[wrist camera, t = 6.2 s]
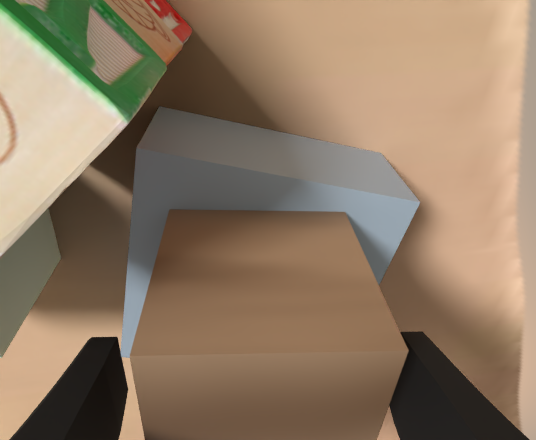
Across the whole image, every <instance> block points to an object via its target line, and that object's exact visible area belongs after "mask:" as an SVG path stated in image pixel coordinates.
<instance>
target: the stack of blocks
mask: <svg viewBox="0 0 536 440" xmlns="http://www.w3.org/2000/svg"><path fill="white" fill-rule="evenodd" d="M191 34H192V28H191V27H190V26H189V25H188V24H187V23H186V22H185V20H184V19H183V18H182V17H181V16H180V15H179V14H178V13H177V12H176V11H175V10H174V9H173V8H172V7H171V5H170V4H169V3H168V2H167V1H166V0H0V259H1V258H2V256H3V255H4V254H5V253H6V252H7V251H8V249H9V248H10V247H11V246H12V245H13V244H14V243H15V242H16V241H17V240H18V239H19V238H20V237H21V236H22V234H23V233H24V232H25V231H26V230H27V229H28V228H29V227H30V226H31V225H32V224H33V223H34V222H35V221H36V220H37V219H38V218H39V217H40V216H41V215H42V214H43V213H44V212H45V211H46V210H47V208H48V207H49V206H50V205H51V204H52V203H53V202H54V201H55V200H56V199H57V198H58V197H59V196H60V195H61V194H62V193H63V192H64V191H65V190H66V189H67V188H68V187H69V186H70V185H71V184H72V183H73V182H74V181H75V179H76V178H77V177H78V176H79V175H80V174H81V173H82V172H83V171H84V170H85V169H86V168H87V167H88V166H89V165H90V163H91V162H92V161H93V160H94V159H95V158H96V157H97V156H98V155H99V154H100V153H101V152H102V151H103V150H104V149H105V148H106V147H107V146H108V145H109V144H110V143H111V142H112V141H113V140H114V139H115V138H116V137H117V136H118V135H119V134H120V133H121V132H122V131H123V130H124V128H125V127H126V126H127V125H128V124H129V123H130V121H131V120H132V119H133V117H134V116H135V115H136V113H137V112H138V111H139V109H140V108H141V107H142V105H143V104H144V103H145V101H146V100H147V99H148V97H149V95H150V94H151V92H152V91H153V89H154V88H155V86H156V85H157V83H158V82H159V80H160V79H161V77H162V76H163V75H164V73H165V72H166V71H167V67H166V66H167V65H168V64H169V63H170V62H171V61H172V60H173V59H174V57H175V56H176V55H177V54H178V53H179V52H180V51H181V50H182V47H183V44H184V43H185V42H186V41H187V40H188V39H189V37H190V35H191Z"/></svg>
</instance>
